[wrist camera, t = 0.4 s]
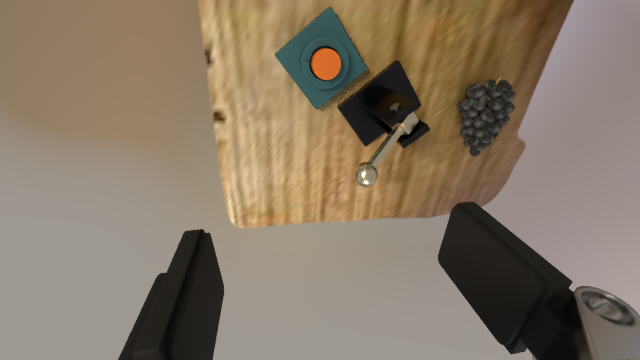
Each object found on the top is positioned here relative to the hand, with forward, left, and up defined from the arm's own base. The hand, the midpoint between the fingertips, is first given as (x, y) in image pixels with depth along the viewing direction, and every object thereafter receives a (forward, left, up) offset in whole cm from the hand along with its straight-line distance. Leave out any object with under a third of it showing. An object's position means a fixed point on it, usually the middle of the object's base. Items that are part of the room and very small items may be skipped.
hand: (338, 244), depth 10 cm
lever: (+13, +5, -25) cm, 29 cm away
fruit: (+26, +23, -37) cm, 51 cm away
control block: (+1, +6, -37) cm, 37 cm away
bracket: (+13, +10, -37) cm, 40 cm away
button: (+1, +6, -33) cm, 34 cm away
